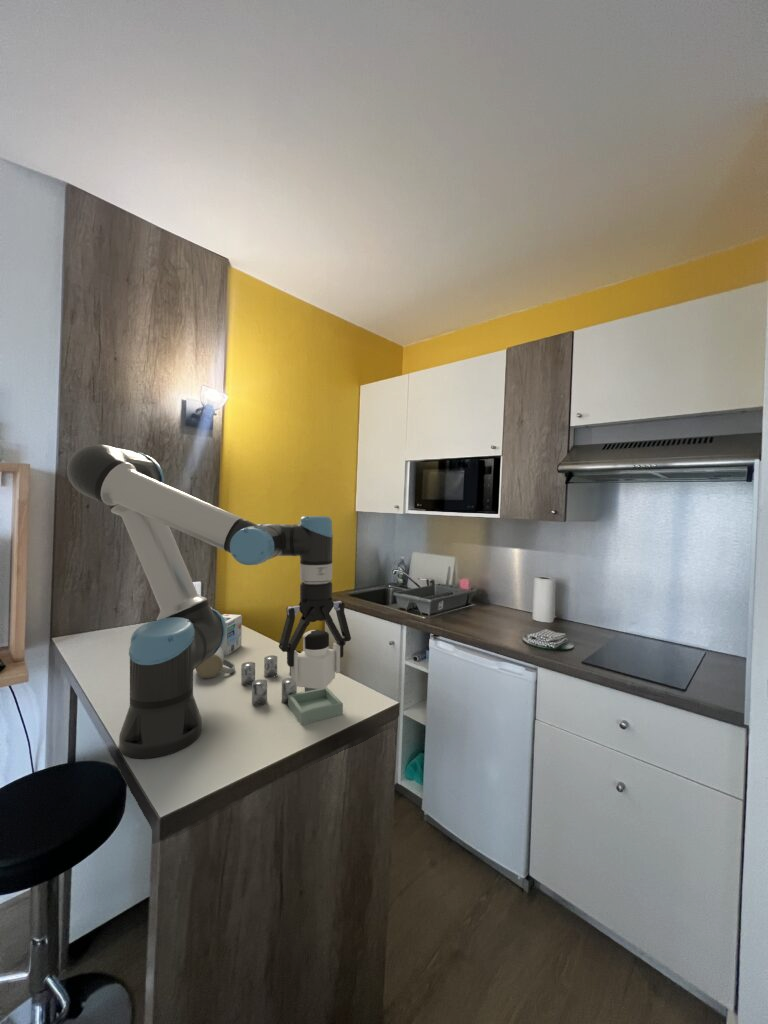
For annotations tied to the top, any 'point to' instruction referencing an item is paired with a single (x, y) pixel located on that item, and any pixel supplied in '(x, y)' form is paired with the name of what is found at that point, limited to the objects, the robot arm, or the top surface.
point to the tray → (314, 705)
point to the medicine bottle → (316, 661)
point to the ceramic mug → (215, 665)
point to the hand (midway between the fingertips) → (315, 675)
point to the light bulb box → (232, 633)
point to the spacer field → (261, 685)
